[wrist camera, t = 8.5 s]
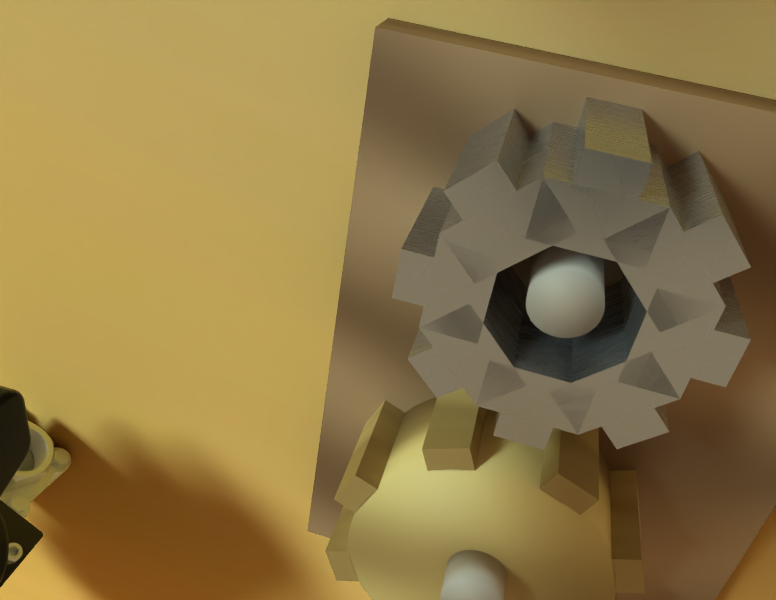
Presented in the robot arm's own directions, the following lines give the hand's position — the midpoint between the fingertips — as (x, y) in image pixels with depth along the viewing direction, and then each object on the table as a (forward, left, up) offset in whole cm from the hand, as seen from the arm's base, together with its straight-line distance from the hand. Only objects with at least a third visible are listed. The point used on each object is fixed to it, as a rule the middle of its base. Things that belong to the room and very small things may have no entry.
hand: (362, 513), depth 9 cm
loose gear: (+1, +2, -11) cm, 11 cm away
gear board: (+5, +3, -12) cm, 13 cm away
